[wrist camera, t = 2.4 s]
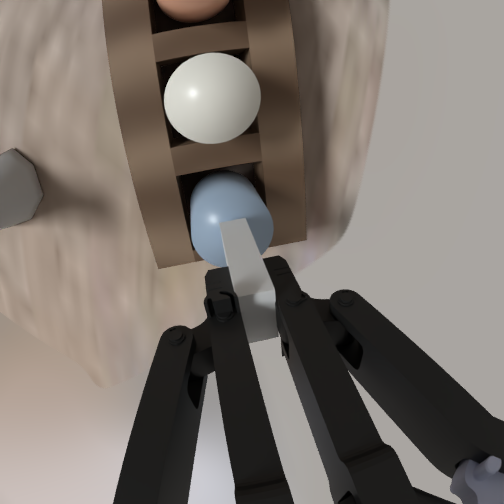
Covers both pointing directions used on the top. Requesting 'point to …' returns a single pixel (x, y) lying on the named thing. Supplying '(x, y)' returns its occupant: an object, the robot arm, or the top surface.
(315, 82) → the top surface
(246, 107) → the off-white round ball
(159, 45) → the wooden egg tray
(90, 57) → the top surface
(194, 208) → the blue rounded lump
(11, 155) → the flask
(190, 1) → the peach orange ball
